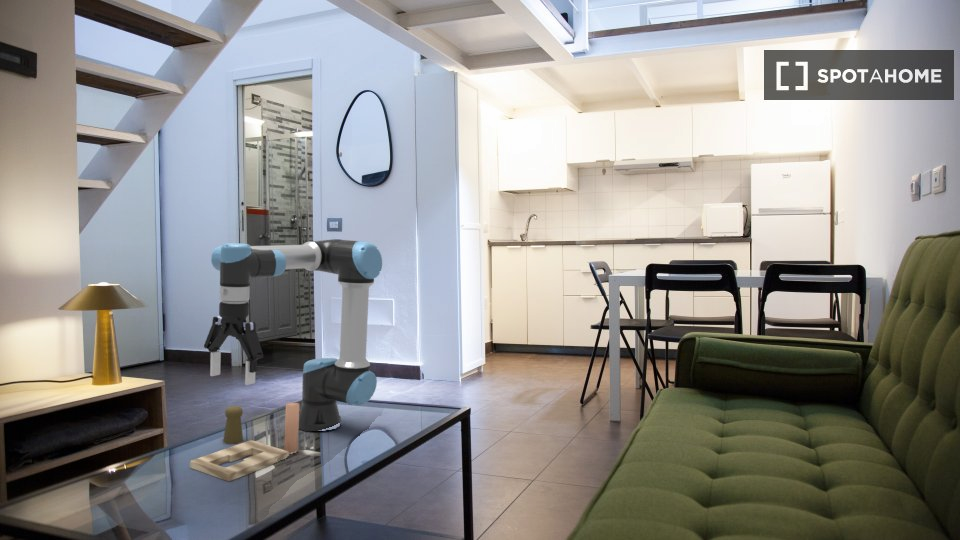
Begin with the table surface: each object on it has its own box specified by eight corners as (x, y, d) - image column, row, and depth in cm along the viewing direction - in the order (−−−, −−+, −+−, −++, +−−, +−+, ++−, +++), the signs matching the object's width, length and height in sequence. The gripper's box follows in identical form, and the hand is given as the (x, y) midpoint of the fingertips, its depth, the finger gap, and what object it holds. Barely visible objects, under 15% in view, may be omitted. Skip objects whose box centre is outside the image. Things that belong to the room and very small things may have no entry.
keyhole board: (250, 446, 212) (251, 440, 212) (288, 458, 204) (288, 451, 204) (190, 467, 193) (190, 460, 193) (228, 481, 185) (229, 474, 185)
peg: (291, 448, 212) (292, 401, 211) (300, 451, 210) (302, 404, 209) (281, 452, 209) (283, 404, 207) (291, 455, 207) (292, 407, 205)
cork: (241, 444, 214) (242, 409, 213) (221, 444, 213) (222, 409, 212) (244, 437, 220) (245, 404, 219) (225, 437, 219) (225, 403, 218)
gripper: (191, 297, 185) (189, 374, 187) (256, 308, 173) (254, 390, 175) (214, 295, 191) (212, 369, 193) (278, 305, 179) (276, 384, 181)
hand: (232, 379), depth 184 cm, fingers open, 13 cm apart
